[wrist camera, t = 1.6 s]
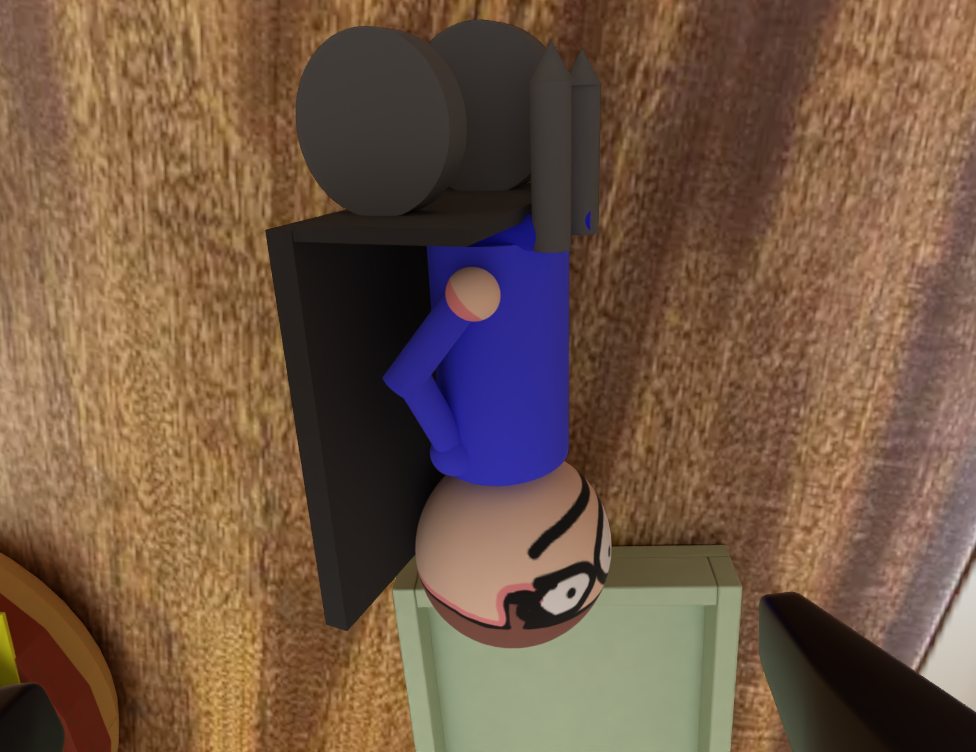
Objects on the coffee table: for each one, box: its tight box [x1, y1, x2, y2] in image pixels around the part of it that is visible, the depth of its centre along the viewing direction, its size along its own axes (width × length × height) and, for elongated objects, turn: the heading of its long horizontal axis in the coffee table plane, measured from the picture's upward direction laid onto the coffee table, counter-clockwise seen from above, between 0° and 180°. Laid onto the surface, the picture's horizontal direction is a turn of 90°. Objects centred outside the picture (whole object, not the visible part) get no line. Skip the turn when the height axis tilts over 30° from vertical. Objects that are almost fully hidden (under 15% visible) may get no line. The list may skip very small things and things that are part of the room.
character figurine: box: [265, 20, 611, 648], centre depth 17 cm, size 8×7×15 cm
